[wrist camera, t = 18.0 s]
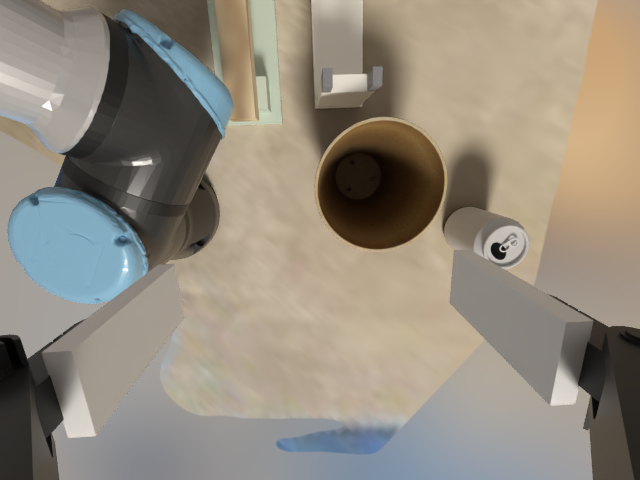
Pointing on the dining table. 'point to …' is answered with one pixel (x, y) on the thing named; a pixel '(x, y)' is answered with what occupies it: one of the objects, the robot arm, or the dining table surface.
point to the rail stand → (340, 55)
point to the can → (487, 236)
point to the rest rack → (257, 59)
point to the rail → (238, 57)
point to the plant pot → (380, 184)
